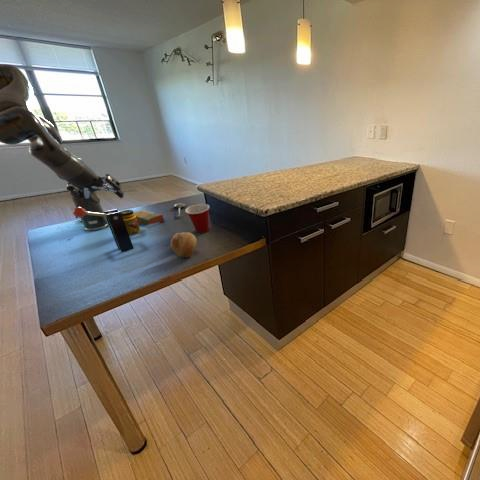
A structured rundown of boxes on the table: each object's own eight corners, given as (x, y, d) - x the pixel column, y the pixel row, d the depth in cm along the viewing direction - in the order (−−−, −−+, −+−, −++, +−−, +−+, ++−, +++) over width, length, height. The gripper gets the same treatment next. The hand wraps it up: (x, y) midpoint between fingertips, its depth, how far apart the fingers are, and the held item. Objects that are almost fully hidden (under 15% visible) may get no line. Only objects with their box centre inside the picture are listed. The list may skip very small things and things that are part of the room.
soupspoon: (187, 206, 161) (175, 207, 159) (185, 200, 159) (173, 202, 157) (185, 217, 143) (172, 219, 140) (184, 211, 141) (170, 213, 139)
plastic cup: (185, 233, 125) (179, 209, 120) (202, 224, 134) (197, 202, 129) (202, 237, 122) (197, 213, 116) (218, 228, 131) (214, 205, 125)
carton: (145, 216, 144) (143, 209, 142) (164, 221, 137) (162, 214, 136) (129, 221, 137) (127, 214, 135) (149, 227, 131) (147, 219, 129)
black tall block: (113, 260, 102) (95, 219, 94) (106, 253, 108) (89, 213, 99) (146, 249, 110) (133, 210, 102) (139, 243, 116) (126, 205, 108)
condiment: (143, 236, 122) (134, 212, 116) (121, 240, 117) (111, 216, 112) (142, 230, 127) (134, 207, 122) (121, 235, 123) (112, 211, 117)
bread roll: (172, 262, 102) (167, 244, 98) (174, 245, 114) (169, 229, 110) (199, 257, 105) (195, 239, 102) (198, 241, 117) (194, 225, 114)
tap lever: (72, 217, 91) (74, 207, 91) (70, 215, 93) (72, 205, 93) (118, 222, 102) (120, 213, 102) (115, 219, 104) (117, 211, 104)
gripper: (96, 155, 84) (130, 186, 99) (50, 165, 83) (91, 195, 98) (93, 173, 81) (129, 202, 96) (45, 183, 80) (89, 211, 94)
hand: (110, 198), depth 97 cm, fingers open, 8 cm apart
